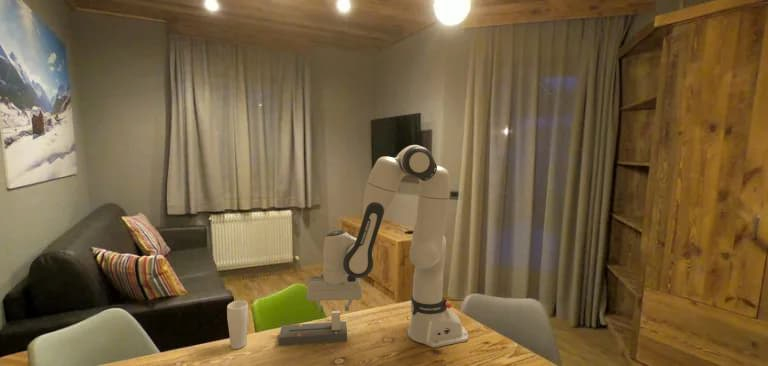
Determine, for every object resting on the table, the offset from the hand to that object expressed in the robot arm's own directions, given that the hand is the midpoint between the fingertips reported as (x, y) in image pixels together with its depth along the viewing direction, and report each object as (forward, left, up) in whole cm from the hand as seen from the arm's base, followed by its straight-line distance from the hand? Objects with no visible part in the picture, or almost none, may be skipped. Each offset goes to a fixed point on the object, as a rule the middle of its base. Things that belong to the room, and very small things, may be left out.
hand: (334, 310), depth 134 cm
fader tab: (-1, 0, -6) cm, 6 cm away
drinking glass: (+33, +3, -10) cm, 35 cm away
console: (+7, 0, -10) cm, 12 cm away
